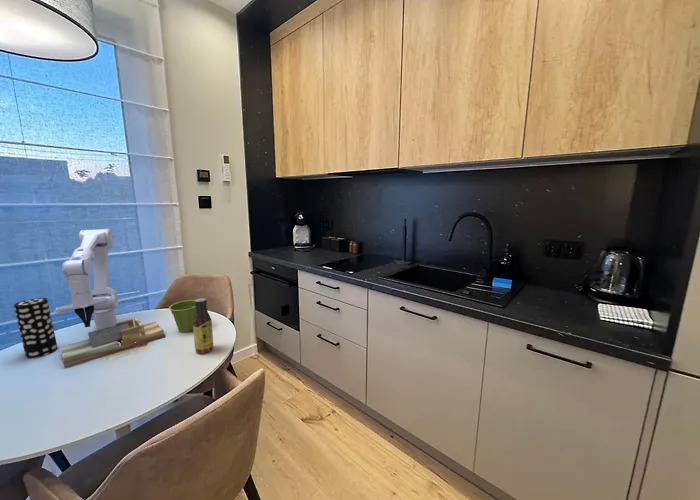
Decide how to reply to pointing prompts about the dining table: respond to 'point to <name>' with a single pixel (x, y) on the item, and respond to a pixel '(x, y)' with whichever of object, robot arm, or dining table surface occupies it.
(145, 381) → the dining table surface
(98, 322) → the robot arm
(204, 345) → the sauce bottle
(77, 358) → the tan piece
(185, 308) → the plant pot
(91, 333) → the metal block
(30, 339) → the white-spotted black cylinder
